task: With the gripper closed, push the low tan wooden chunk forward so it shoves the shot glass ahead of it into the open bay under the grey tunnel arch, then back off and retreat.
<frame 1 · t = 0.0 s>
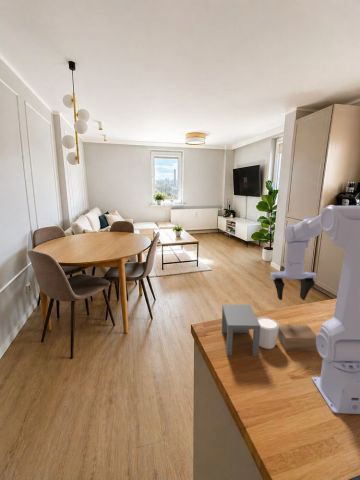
hand: (291, 298, 80), 10 cm above the worktop, fingers open, 7 cm apart
grey tunnel arch: (238, 342, 74), on the worktop
tan wooden chunk: (295, 343, 73), on the worktop
shot glass: (265, 343, 73), on the worktop
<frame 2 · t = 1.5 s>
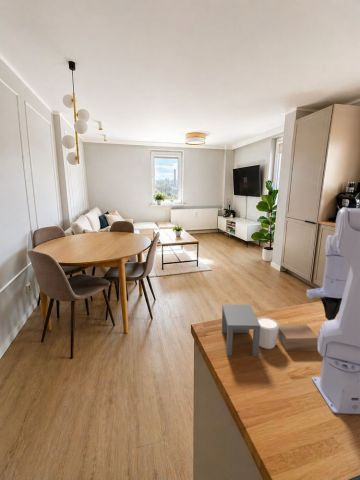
hand: (329, 319, 71), 8 cm above the worktop, fingers closed
nothing on the worktop moved.
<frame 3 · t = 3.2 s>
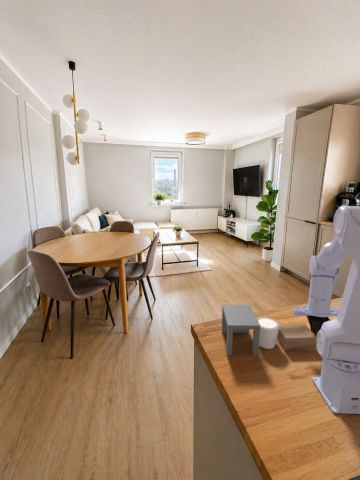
hand: (314, 336, 72), 2 cm above the worktop, fingers closed
tan wooden chunk: (294, 343, 73), on the worktop, touching gripper
everything else where it was.
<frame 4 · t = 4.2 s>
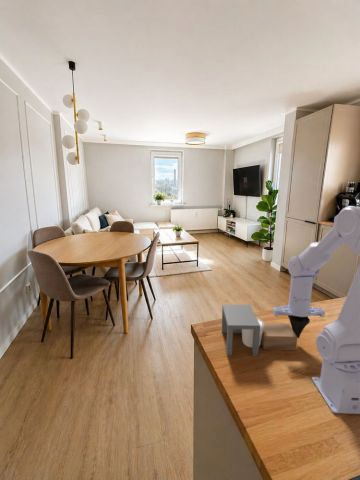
hand: (295, 336, 72), 2 cm above the worktop, fingers closed
tan wooden chunk: (275, 342, 74), on the worktop, touching gripper, shot glass
shot glass: (251, 342, 74), on the worktop, touching tan wooden chunk
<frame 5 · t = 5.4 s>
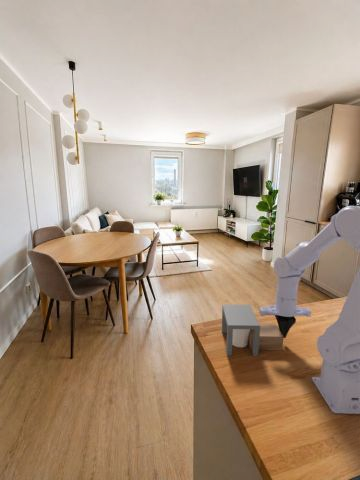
hand: (282, 336, 73), 2 cm above the worktop, fingers closed
tan wooden chunk: (262, 342, 74), on the worktop, touching gripper, shot glass
shot glass: (238, 342, 74), on the worktop, touching tan wooden chunk
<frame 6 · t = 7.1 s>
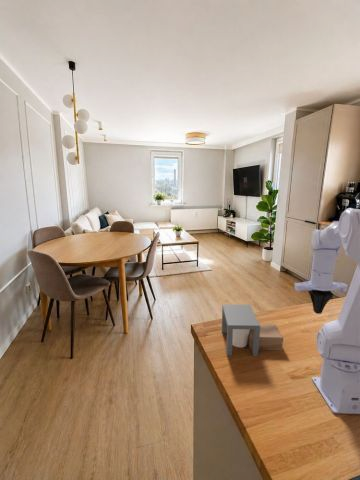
hand: (317, 312, 72), 10 cm above the worktop, fingers closed
tan wooden chunk: (262, 342, 74), on the worktop
shot glass: (238, 342, 74), on the worktop
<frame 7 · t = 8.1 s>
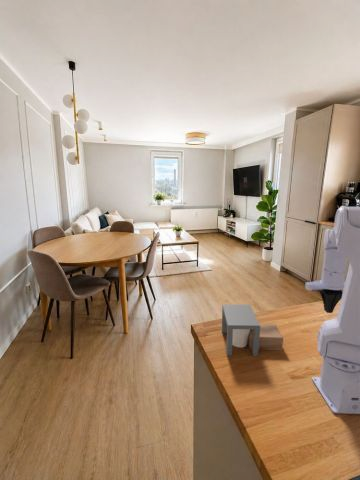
hand: (328, 311, 72), 10 cm above the worktop, fingers closed
nothing on the worktop moved.
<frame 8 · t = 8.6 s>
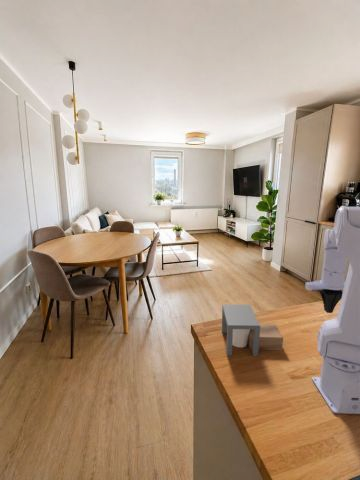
hand: (328, 311, 72), 10 cm above the worktop, fingers closed
nothing on the worktop moved.
at the end: shot glass inside the target area (1.6 cm from its centre), on the worktop; shot glass tilted 0° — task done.
